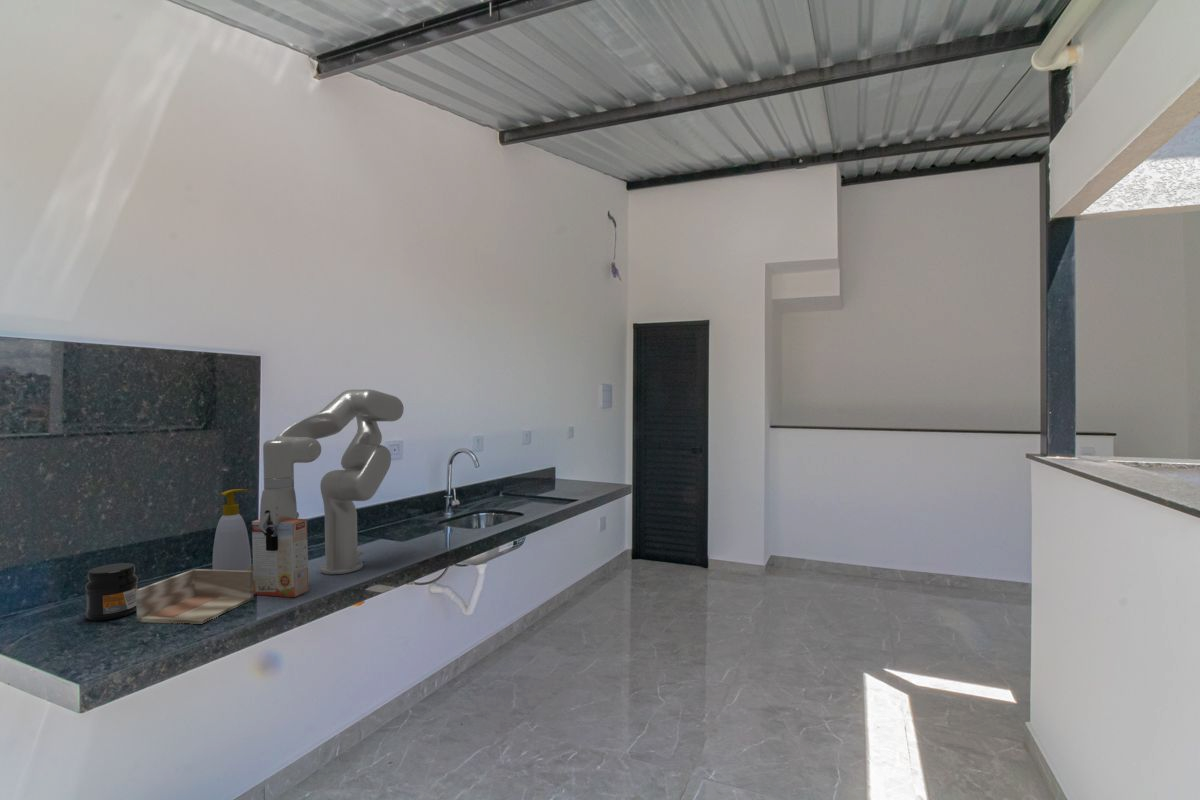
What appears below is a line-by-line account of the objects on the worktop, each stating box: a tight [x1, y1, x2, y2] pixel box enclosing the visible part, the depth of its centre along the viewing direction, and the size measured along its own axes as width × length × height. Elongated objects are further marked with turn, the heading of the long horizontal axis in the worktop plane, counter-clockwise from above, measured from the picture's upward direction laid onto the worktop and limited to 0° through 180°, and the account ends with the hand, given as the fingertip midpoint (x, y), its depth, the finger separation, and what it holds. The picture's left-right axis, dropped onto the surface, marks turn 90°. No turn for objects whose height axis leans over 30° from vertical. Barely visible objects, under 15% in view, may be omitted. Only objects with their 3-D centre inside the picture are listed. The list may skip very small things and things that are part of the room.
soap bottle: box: [212, 488, 253, 571], centre depth 193 cm, size 11×12×26 cm
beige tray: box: [136, 568, 255, 625], centre depth 161 cm, size 18×18×8 cm
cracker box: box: [251, 518, 309, 598], centre depth 173 cm, size 14×6×21 cm, turn 74°
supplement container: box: [85, 562, 139, 622], centre depth 158 cm, size 10×10×12 cm
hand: (280, 546), depth 173 cm, fingers closed on cracker box, 6 cm apart
